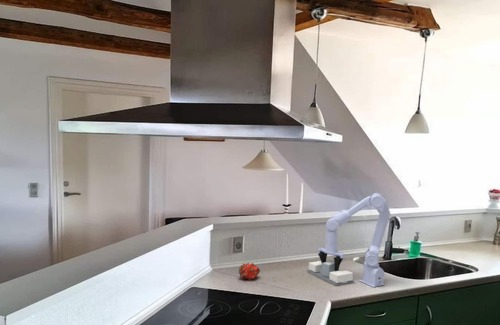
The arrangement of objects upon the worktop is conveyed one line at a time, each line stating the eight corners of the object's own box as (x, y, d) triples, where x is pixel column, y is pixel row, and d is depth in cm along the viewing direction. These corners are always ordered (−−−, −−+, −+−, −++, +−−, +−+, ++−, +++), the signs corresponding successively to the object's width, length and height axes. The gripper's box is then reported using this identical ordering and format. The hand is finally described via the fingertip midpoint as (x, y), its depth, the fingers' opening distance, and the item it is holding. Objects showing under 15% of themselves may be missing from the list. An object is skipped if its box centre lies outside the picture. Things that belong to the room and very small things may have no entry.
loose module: (338, 273, 190) (339, 262, 190) (328, 277, 184) (329, 265, 184) (331, 271, 193) (332, 259, 193) (321, 274, 187) (321, 263, 187)
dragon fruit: (235, 282, 180) (257, 283, 185) (243, 277, 174) (265, 277, 179) (234, 265, 185) (255, 266, 190) (241, 259, 179) (263, 260, 184)
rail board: (354, 282, 182) (354, 272, 182) (335, 286, 176) (335, 276, 176) (324, 269, 201) (325, 260, 201) (307, 271, 195) (307, 262, 195)
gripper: (348, 244, 185) (346, 271, 186) (324, 238, 196) (322, 263, 196) (340, 246, 181) (338, 273, 181) (316, 240, 191) (314, 266, 192)
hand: (330, 268), depth 188 cm, fingers open, 7 cm apart
